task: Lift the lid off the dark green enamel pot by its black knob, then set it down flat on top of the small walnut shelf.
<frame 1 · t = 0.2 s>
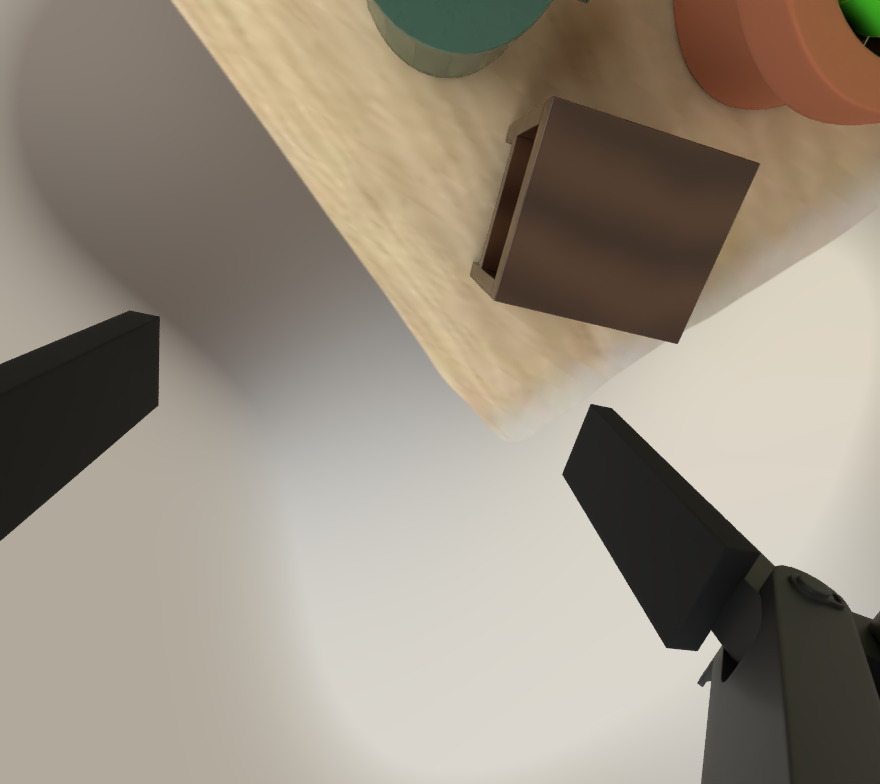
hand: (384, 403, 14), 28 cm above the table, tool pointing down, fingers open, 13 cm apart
shelf: (564, 225, 39), on the table
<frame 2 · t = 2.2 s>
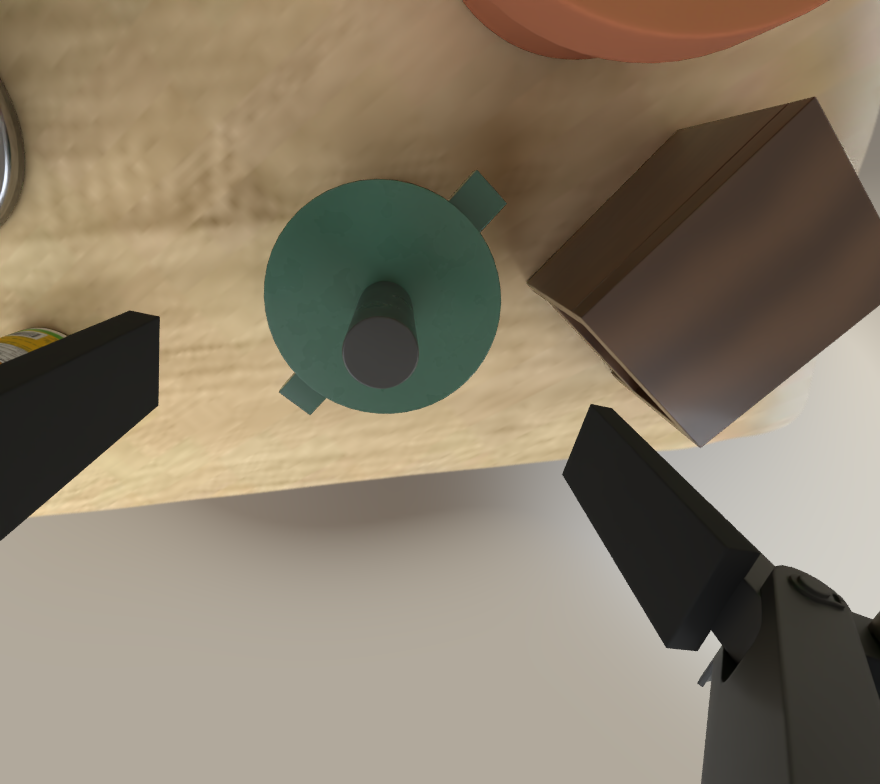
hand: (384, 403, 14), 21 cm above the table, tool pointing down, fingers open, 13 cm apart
lid: (385, 306, 25), point 8 cm above the table, touching pot
pot: (388, 282, 33), on the table
shelf: (645, 269, 34), on the table
supplement bottle: (54, 361, 33), on the table
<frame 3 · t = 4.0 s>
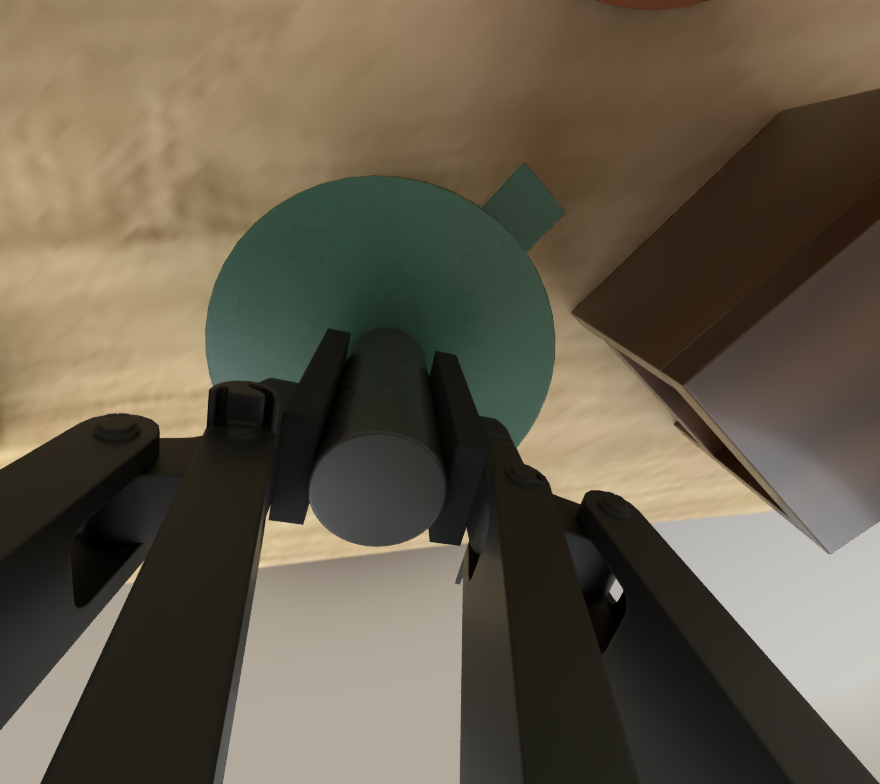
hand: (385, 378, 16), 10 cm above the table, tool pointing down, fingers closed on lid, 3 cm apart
lid: (387, 361, 17), point 8 cm above the table, touching gripper, pot
pot: (390, 313, 25), on the table
shelf: (726, 294, 26), on the table
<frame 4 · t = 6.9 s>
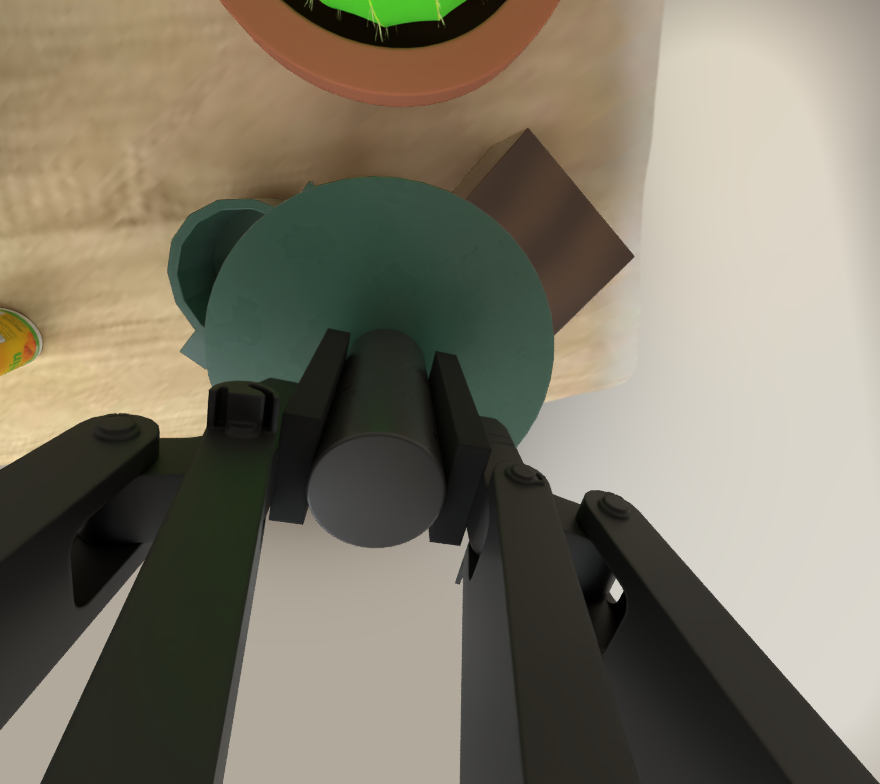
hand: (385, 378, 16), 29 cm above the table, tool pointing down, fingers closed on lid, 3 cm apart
lid: (386, 361, 17), point 27 cm above the table, touching gripper
pot: (276, 268, 41), on the table
shelf: (484, 254, 43), on the table
supplement bottle: (13, 335, 42), on the table
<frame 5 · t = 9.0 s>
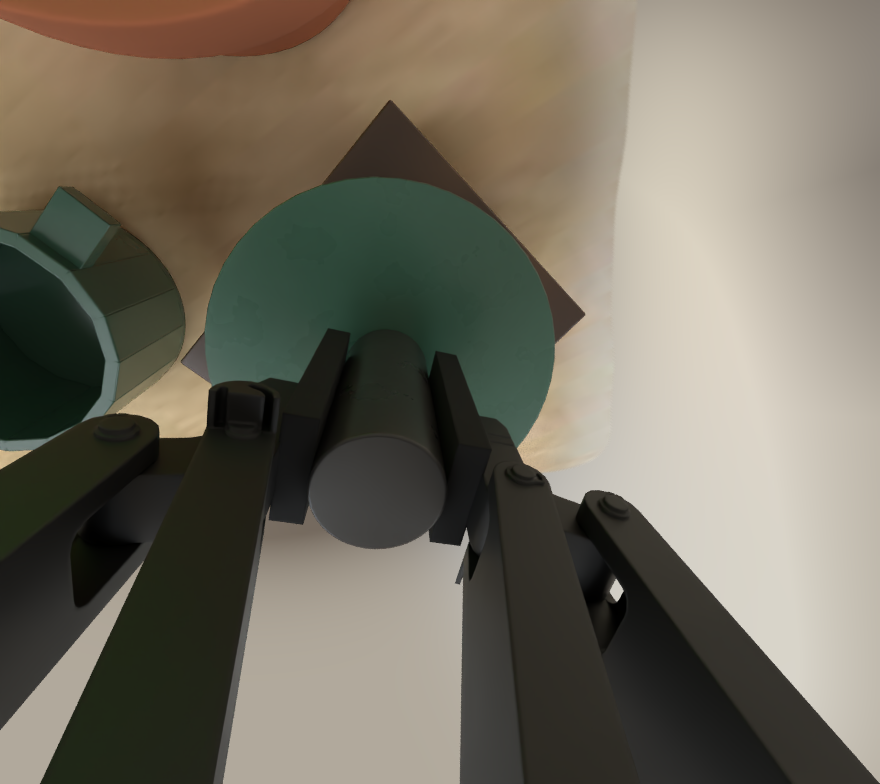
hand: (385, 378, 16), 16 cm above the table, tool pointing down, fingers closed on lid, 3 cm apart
lid: (386, 362, 17), point 14 cm above the table, touching gripper
pot: (88, 308, 29), on the table
shelf: (390, 292, 30), on the table
when the fingers open (13 cm above the table, at t = 9.9 s): lid stays where it is, resting on shelf.
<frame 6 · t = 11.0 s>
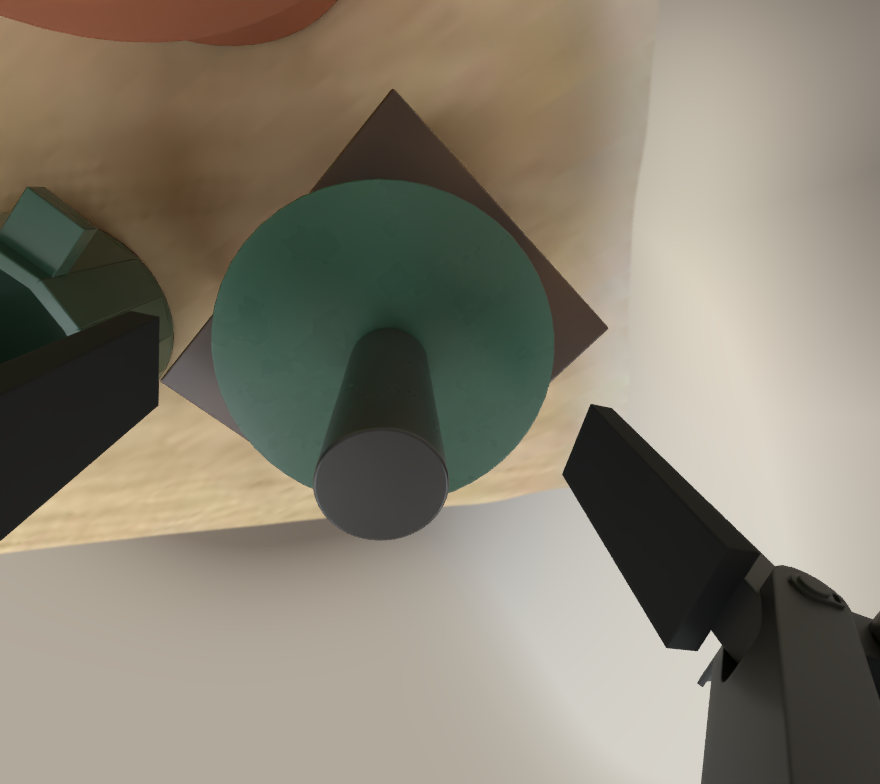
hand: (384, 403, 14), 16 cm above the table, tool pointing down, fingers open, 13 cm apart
lid: (389, 360, 18), point 12 cm above the table, touching shelf
pot: (69, 317, 27), on the table
shelf: (392, 299, 28), on the table
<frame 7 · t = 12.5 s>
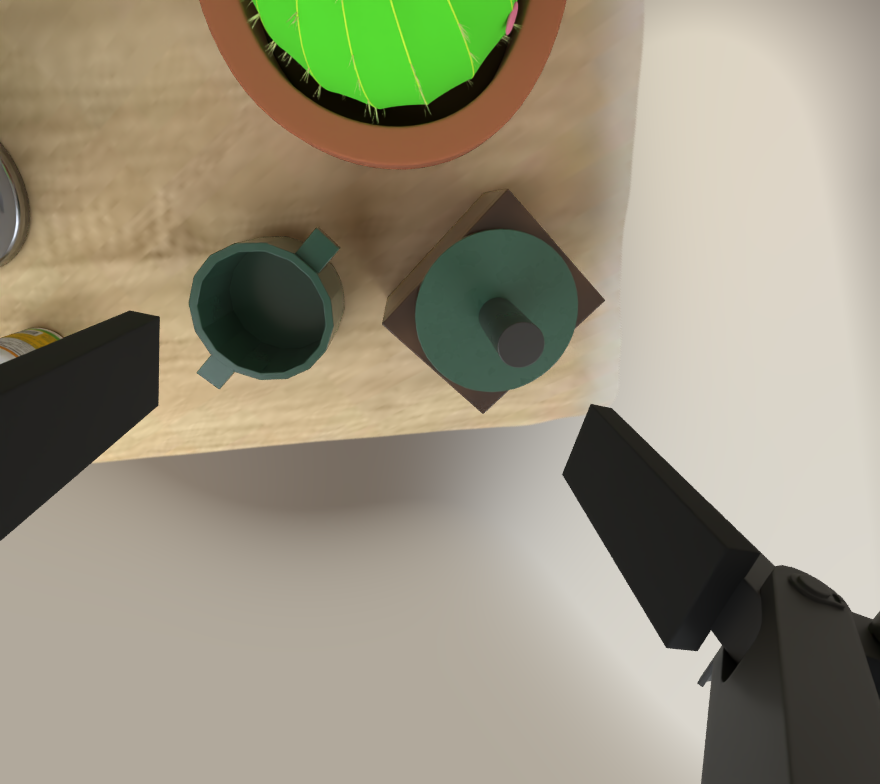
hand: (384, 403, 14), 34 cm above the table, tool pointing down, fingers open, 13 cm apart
lid: (496, 314, 36), point 12 cm above the table, touching shelf
pot: (285, 297, 46), on the table
shelf: (475, 289, 47), on the table
supplement bottle: (49, 351, 46), on the table
potted cactus: (392, 34, 38), on the table
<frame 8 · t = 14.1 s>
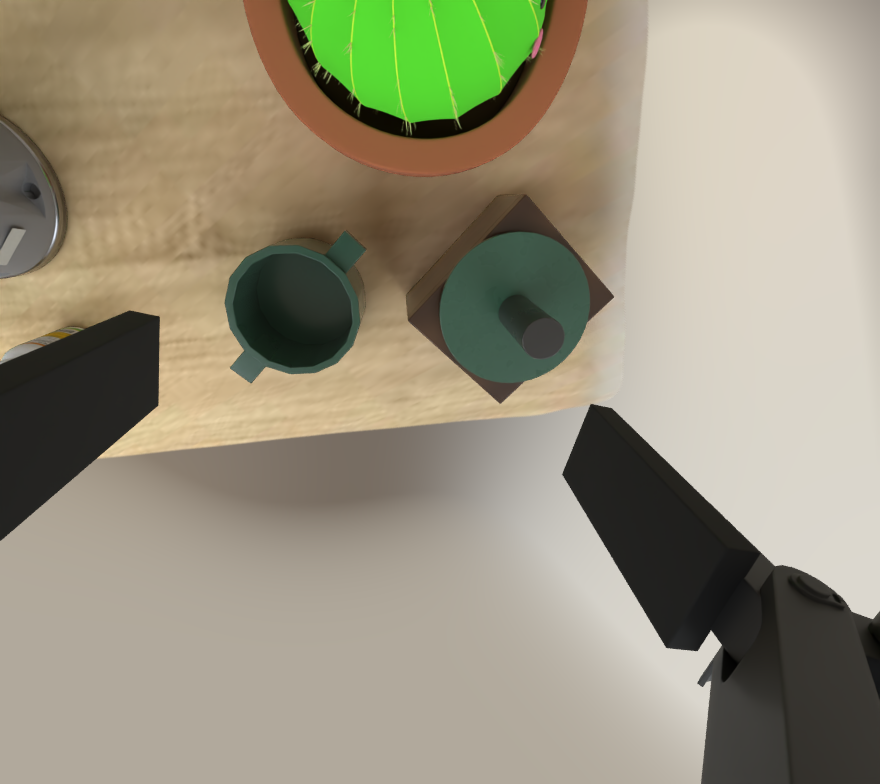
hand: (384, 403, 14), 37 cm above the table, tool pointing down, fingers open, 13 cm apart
lid: (514, 310, 39), point 12 cm above the table, touching shelf
pot: (309, 295, 48), on the table
shelf: (488, 286, 49), on the table
supplement bottle: (82, 349, 48), on the table
potted cactus: (413, 47, 41), on the table
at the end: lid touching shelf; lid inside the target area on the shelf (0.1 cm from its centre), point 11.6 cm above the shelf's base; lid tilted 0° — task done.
